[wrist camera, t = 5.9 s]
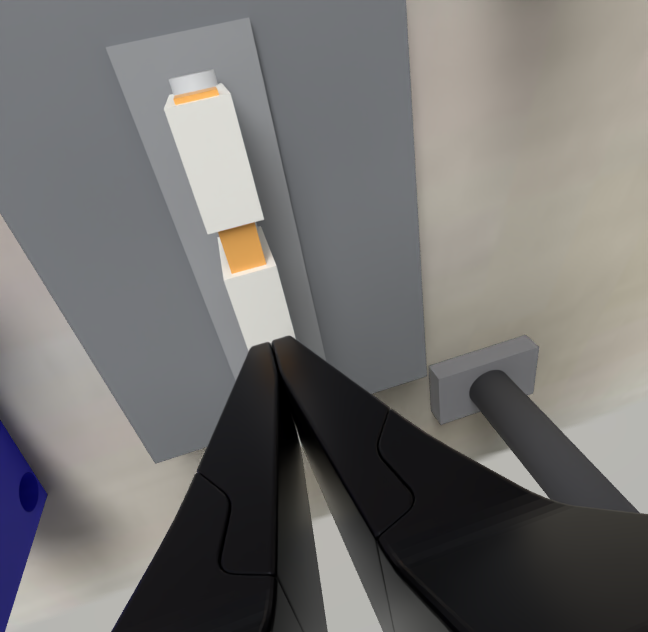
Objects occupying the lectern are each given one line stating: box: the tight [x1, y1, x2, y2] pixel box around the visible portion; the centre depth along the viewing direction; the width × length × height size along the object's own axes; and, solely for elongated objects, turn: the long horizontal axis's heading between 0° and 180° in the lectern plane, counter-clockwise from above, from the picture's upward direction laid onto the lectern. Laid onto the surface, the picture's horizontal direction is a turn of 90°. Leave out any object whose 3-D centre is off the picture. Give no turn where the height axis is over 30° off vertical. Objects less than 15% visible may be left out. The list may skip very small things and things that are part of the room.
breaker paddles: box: [164, 69, 302, 447], centre depth 12 cm, size 1×10×3 cm, turn 11°
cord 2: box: [429, 335, 639, 513], centre depth 17 cm, size 5×3×10 cm, turn 101°
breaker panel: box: [0, 0, 427, 464], centre depth 14 cm, size 11×14×2 cm
